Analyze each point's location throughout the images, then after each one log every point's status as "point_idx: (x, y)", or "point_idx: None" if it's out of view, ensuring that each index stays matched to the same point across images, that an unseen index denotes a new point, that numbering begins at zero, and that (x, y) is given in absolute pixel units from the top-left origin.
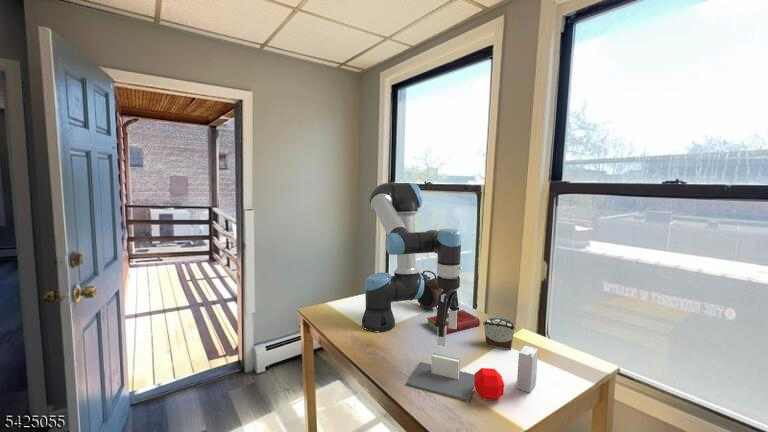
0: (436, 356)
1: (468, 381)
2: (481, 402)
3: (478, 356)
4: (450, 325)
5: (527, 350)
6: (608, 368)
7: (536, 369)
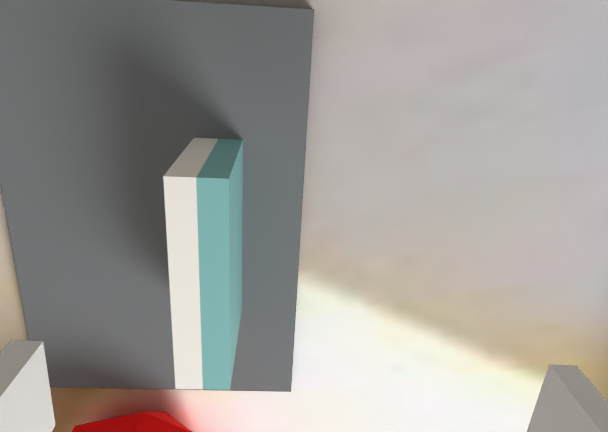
0: (174, 219)
1: None
2: (73, 422)
3: (527, 361)
4: (561, 415)
5: None
6: None
7: None
